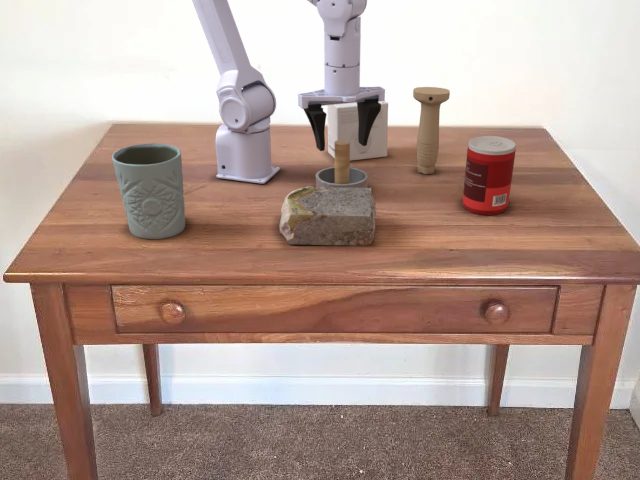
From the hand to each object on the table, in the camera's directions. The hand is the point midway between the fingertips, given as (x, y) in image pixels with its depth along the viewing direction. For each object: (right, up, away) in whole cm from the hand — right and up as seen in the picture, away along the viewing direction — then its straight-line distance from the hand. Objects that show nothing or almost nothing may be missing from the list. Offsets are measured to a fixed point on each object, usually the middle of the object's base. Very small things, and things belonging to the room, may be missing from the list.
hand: (341, 146), depth 126 cm
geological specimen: (-2, -16, -9) cm, 19 cm away
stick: (0, -7, +4) cm, 8 cm away
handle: (+16, -2, +13) cm, 21 cm away
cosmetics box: (+3, +4, +21) cm, 21 cm away
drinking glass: (-29, -15, -9) cm, 34 cm away
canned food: (+24, -10, 0) cm, 26 cm away
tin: (0, -7, +4) cm, 8 cm away
